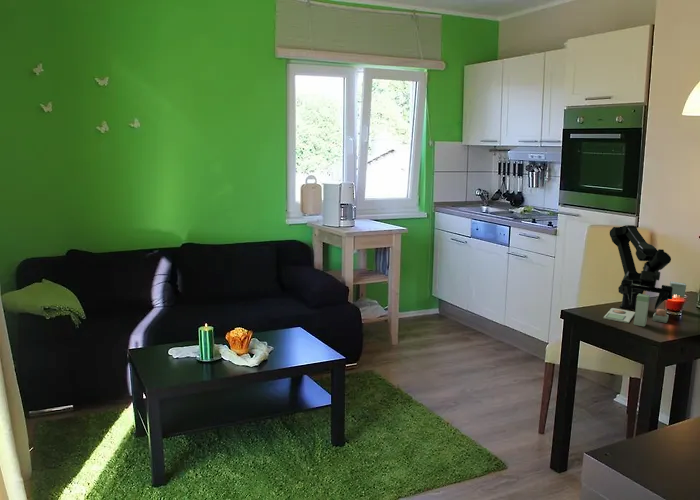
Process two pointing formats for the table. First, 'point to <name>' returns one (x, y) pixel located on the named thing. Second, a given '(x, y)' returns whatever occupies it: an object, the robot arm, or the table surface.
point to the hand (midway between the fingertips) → (642, 306)
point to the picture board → (619, 315)
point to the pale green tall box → (641, 309)
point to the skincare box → (678, 288)
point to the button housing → (660, 318)
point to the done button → (661, 312)
